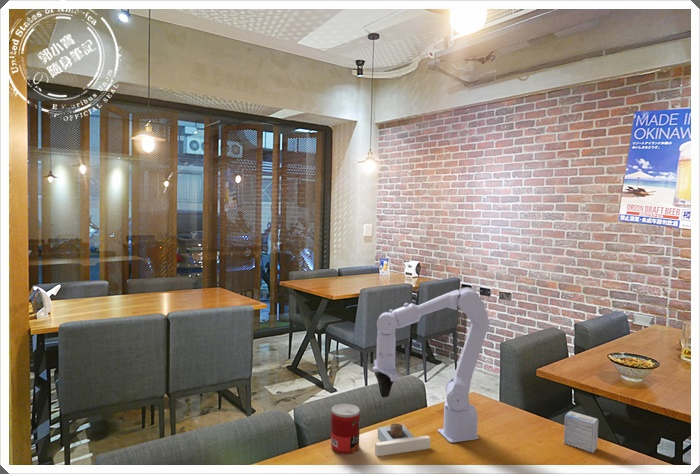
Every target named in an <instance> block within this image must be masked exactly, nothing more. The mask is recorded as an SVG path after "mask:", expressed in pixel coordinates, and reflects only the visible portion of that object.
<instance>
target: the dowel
mask: <svg viewBox="0 0 700 474" xmlns="http://www.w3.org/2000/svg"><path fill="white" fill-rule="evenodd" d="M402 425H403V424H400V423H392V424H390V426H391V428H390V436H391V437H392V439H397V438H402Z"/></svg>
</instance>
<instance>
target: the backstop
mask: <svg viewBox="0 0 700 474" xmlns="http://www.w3.org/2000/svg"><path fill="white" fill-rule="evenodd" d="M428 449H431V437H430V436H429V435H428V434H427V435H421V436H414V437H412V438H405V439H398V440H391V441H384V442H381V441H377V442H374V454H375V456H376V457H381V456H383V457H384V456H389V455H396V454H402V453H408V452H416V451H423V450H428Z"/></svg>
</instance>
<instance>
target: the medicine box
mask: <svg viewBox="0 0 700 474" xmlns="http://www.w3.org/2000/svg"><path fill="white" fill-rule="evenodd" d="M598 433H599V419H598V418H596V417H593V416H590V415H586V414H582V413H578V412H576V411H575V412H574V411H571V410H570V411H568V412H567V413H566V414H565V415H564V433H563V434H564V435H563V444H564V443H565V445H567V444H568V446H570V445H571V447H573V446H574V448H576V447H577V449H579V448H580V450H582V449H583V450H582V451H586V452H588V453H591V454H594V453H595V451H597V449H598V437H599V436H598Z"/></svg>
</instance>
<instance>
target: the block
mask: <svg viewBox="0 0 700 474" xmlns="http://www.w3.org/2000/svg"><path fill="white" fill-rule="evenodd" d="M401 425H402V438H397V439H392V437H391V436H390V428H391V425H389V426H382V427H381V426H380V427H377V439H378V441H379V442H384V441H391V440H398V439H405V438H412V437H415V436H414V435H413V433H411V431H410V430H409V429H407V426H405V425H404V424H401Z"/></svg>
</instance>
